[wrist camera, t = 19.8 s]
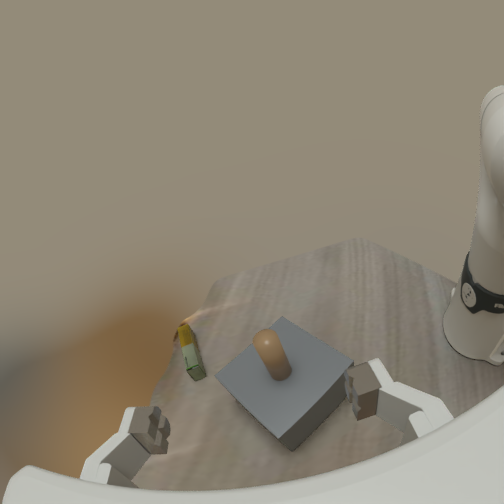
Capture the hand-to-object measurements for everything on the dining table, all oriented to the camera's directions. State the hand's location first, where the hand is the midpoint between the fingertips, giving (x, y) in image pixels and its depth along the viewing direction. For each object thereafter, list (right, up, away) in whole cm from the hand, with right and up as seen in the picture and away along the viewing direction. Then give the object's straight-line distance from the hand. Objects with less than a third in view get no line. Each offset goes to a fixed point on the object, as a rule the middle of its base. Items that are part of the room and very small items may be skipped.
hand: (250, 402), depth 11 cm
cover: (+7, -17, +31) cm, 36 cm away
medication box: (-11, -15, +43) cm, 47 cm away
